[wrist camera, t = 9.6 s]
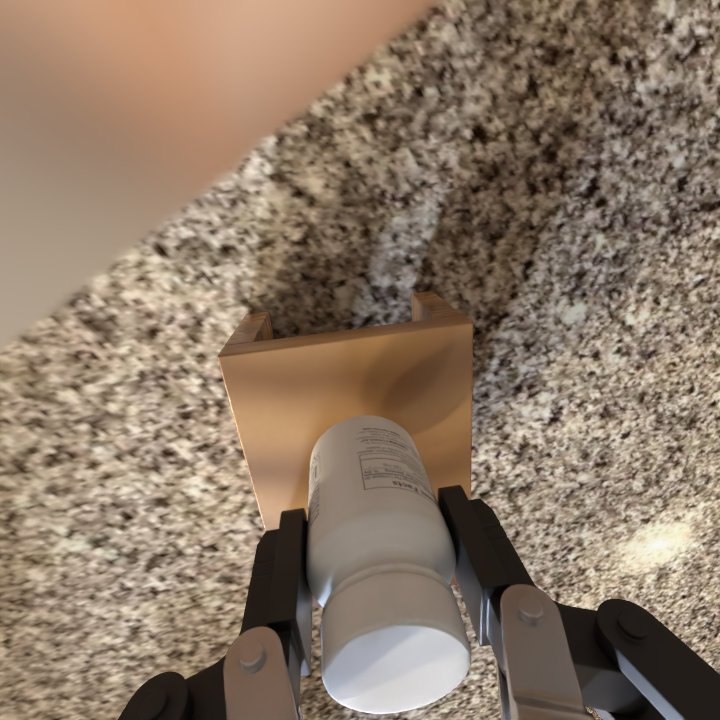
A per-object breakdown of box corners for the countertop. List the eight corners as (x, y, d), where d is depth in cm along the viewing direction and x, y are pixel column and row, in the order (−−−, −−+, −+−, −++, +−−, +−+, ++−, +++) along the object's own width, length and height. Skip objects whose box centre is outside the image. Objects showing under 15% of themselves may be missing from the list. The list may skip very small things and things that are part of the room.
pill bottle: (348, 515, 17) (368, 747, 9) (288, 448, 15) (257, 669, 8) (433, 467, 16) (524, 676, 9) (381, 392, 14) (439, 574, 7)
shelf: (246, 314, 20) (200, 378, 12) (432, 290, 20) (495, 339, 13) (287, 491, 24) (271, 615, 17) (437, 469, 25) (486, 580, 17)
